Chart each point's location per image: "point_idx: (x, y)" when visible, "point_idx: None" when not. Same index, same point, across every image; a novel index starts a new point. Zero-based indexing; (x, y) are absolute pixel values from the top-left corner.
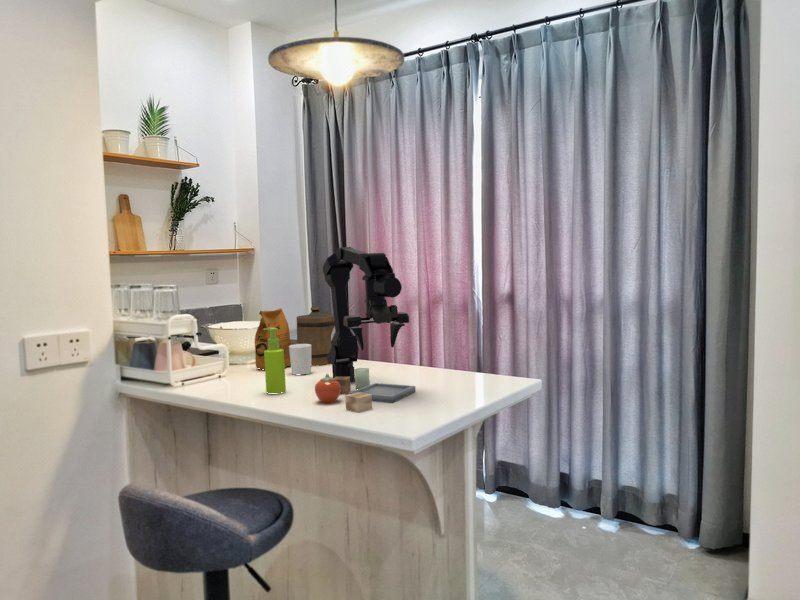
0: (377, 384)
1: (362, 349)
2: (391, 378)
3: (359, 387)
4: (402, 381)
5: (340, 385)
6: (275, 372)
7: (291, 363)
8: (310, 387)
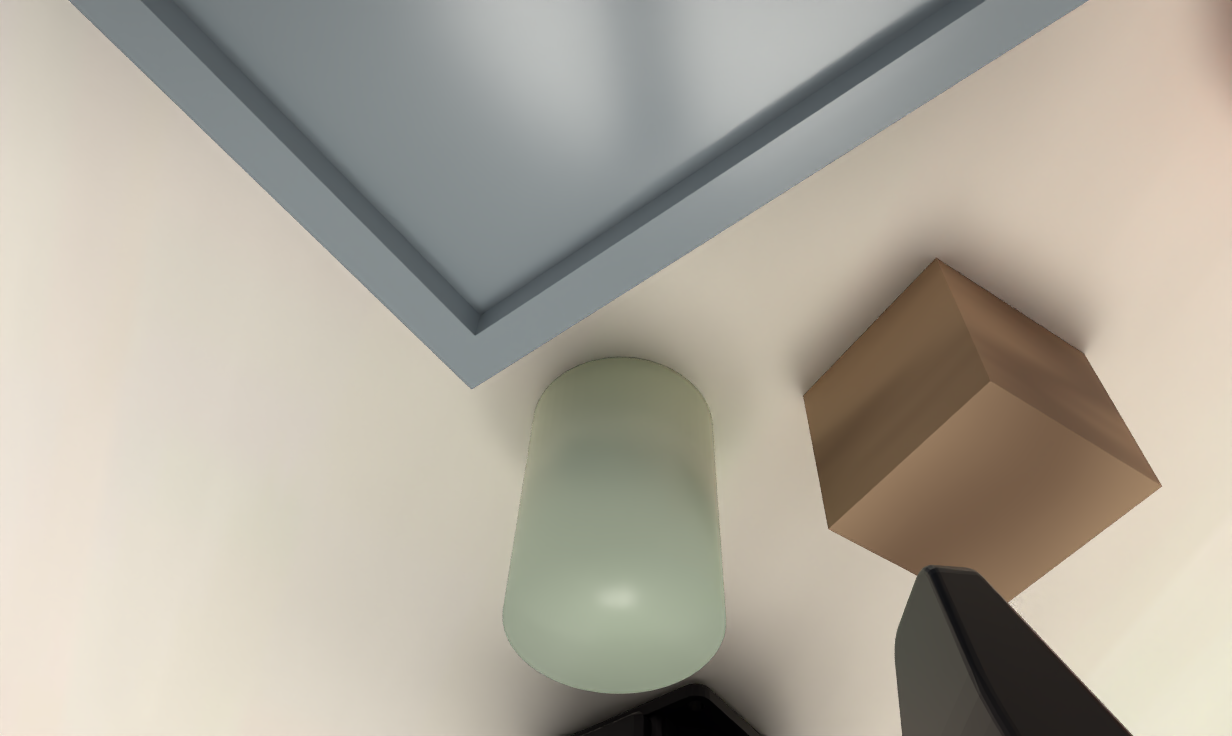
0: (462, 315)
1: (969, 575)
2: (175, 649)
3: (690, 401)
4: (69, 490)
5: (1039, 371)
6: None
7: None
8: None
